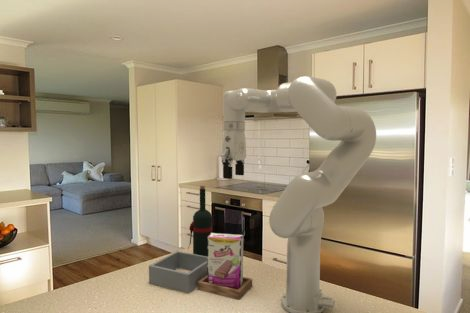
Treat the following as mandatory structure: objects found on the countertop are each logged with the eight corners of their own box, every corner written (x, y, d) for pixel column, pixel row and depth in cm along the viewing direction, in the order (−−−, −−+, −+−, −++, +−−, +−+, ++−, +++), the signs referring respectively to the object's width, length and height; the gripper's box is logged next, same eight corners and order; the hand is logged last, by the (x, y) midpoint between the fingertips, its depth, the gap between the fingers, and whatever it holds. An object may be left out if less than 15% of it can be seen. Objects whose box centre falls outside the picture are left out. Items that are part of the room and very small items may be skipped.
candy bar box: (206, 286, 108) (206, 236, 107) (210, 280, 113) (210, 232, 112) (241, 289, 106) (241, 238, 105) (243, 282, 111) (243, 234, 110)
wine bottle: (189, 257, 137) (188, 184, 135) (214, 258, 136) (214, 184, 134) (185, 264, 129) (184, 187, 127) (211, 265, 128) (210, 187, 126)
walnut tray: (252, 286, 111) (252, 278, 111) (239, 299, 102) (239, 291, 102) (213, 277, 118) (213, 270, 117) (197, 289, 109) (197, 281, 108)
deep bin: (214, 274, 120) (214, 257, 120) (188, 293, 106) (188, 274, 106) (177, 266, 127) (177, 250, 127) (149, 283, 113) (148, 265, 113)
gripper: (233, 127, 106) (233, 180, 108) (253, 127, 122) (253, 174, 123) (212, 127, 110) (212, 179, 111) (234, 127, 125) (234, 173, 127)
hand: (233, 176), depth 117 cm, fingers open, 9 cm apart
